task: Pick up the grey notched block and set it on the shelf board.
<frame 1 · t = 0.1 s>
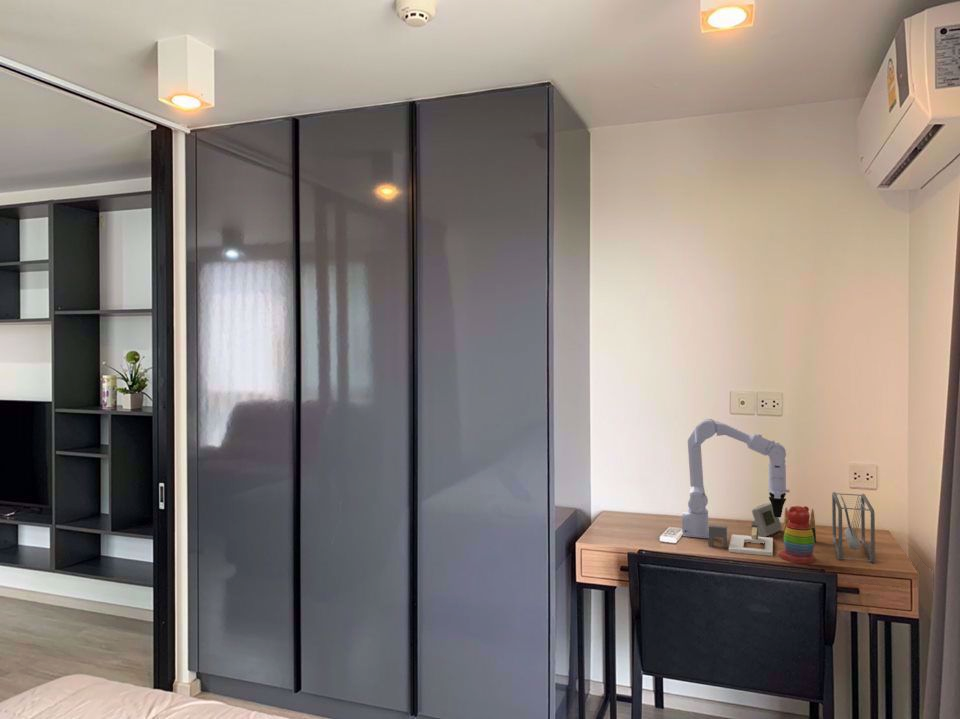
hand: (777, 514, 251), 10 cm above the table, tool pointing down, fingers open, 7 cm apart
stacking bear: (798, 560, 231), on the table
ammunition clip: (799, 541, 253), on the table
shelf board: (751, 546, 247), on the table
digital clock: (767, 534, 264), on the table
grey notched block: (717, 546, 247), on the table
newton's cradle: (852, 551, 240), on the table
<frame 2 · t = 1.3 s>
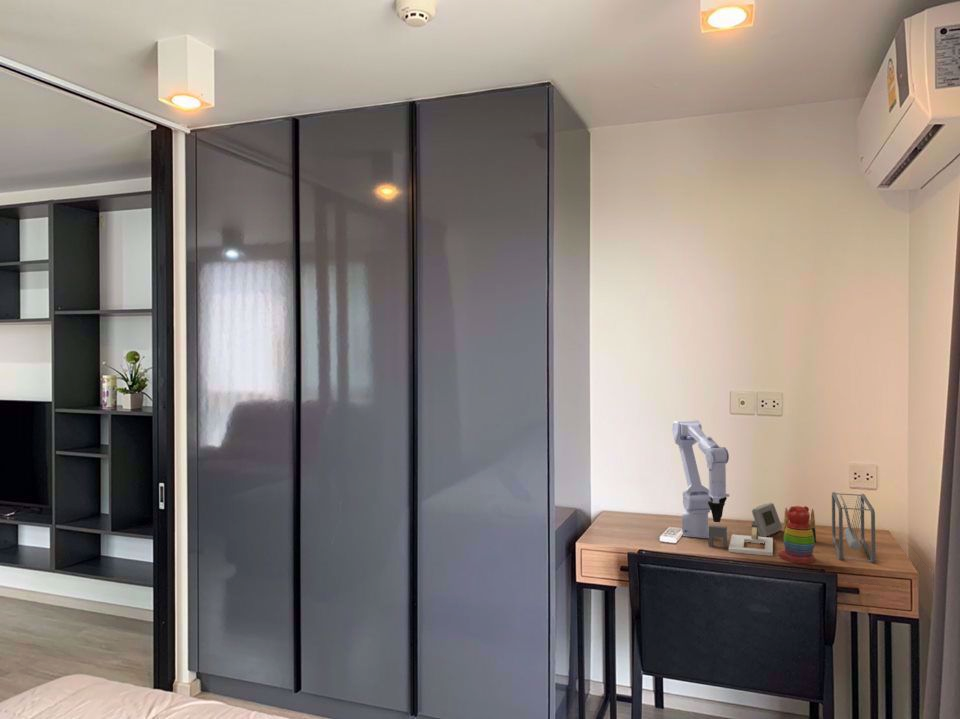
hand: (717, 519, 247), 10 cm above the table, tool pointing down, fingers open, 7 cm apart
nothing on the table moved.
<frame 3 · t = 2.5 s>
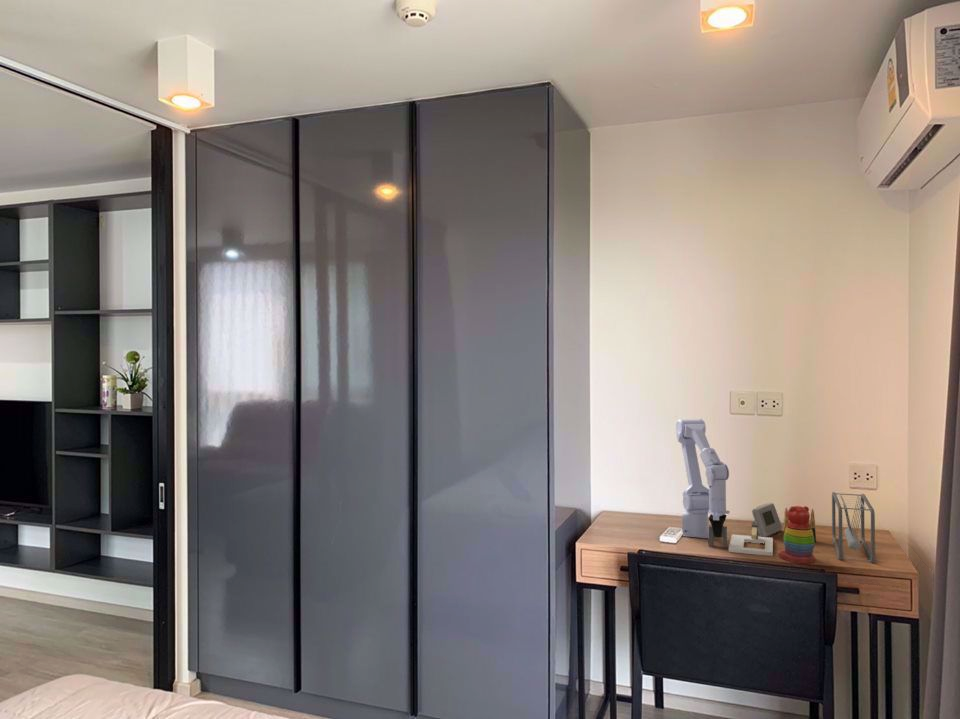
hand: (717, 536, 247), 4 cm above the table, tool pointing down, fingers closed on grey notched block, 2 cm apart
grey notched block: (717, 546, 247), on the table, touching gripper
everything else where it was.
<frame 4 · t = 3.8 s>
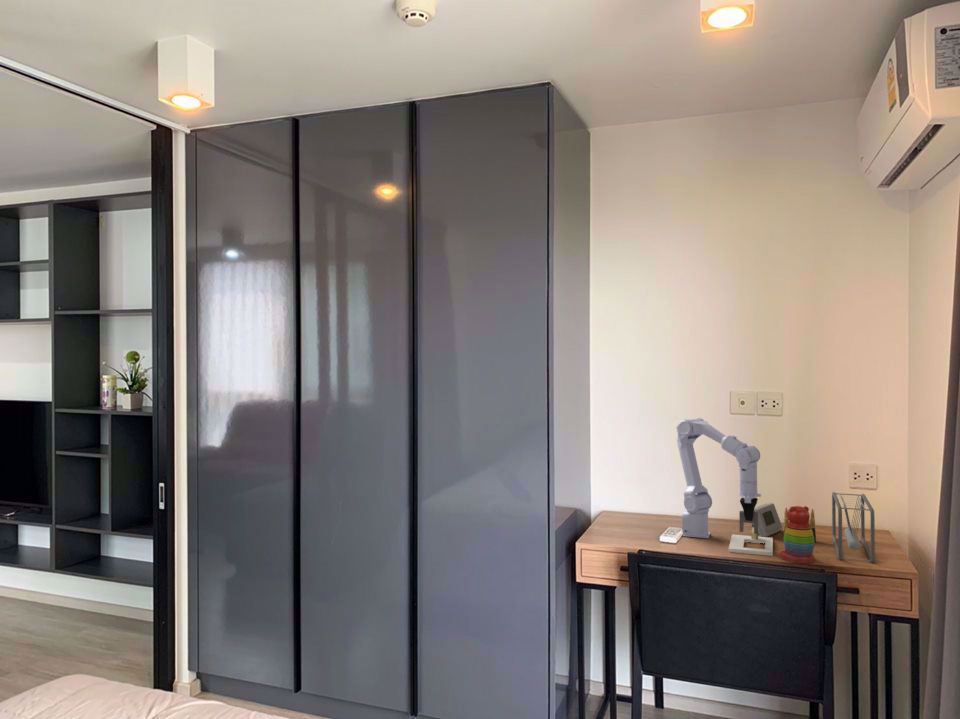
hand: (749, 519, 245), 10 cm above the table, tool pointing down, fingers closed on grey notched block, 2 cm apart
grey notched block: (748, 531, 245), point 6 cm above the table, touching gripper
everything else where it was.
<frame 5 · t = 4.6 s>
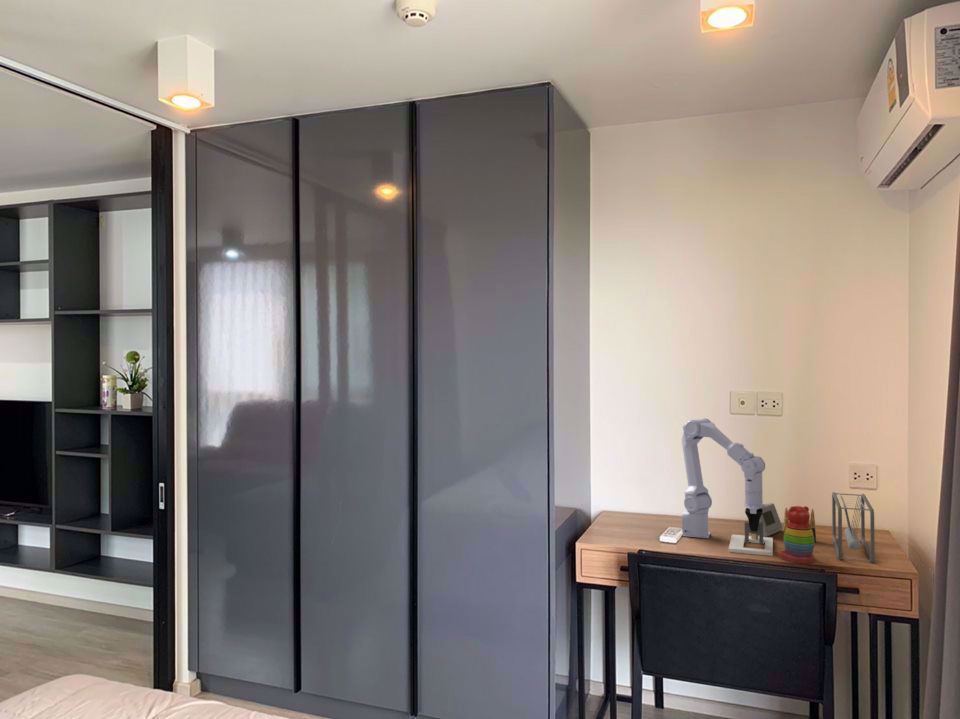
hand: (754, 530, 244), 6 cm above the table, tool pointing down, fingers closed on grey notched block, 2 cm apart
grey notched block: (754, 542, 244), point 2 cm above the table, touching gripper, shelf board
everything else where it was.
when the fingers open (6 cm above the table, at t = 4.9 s): grey notched block stays where it is, resting on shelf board.
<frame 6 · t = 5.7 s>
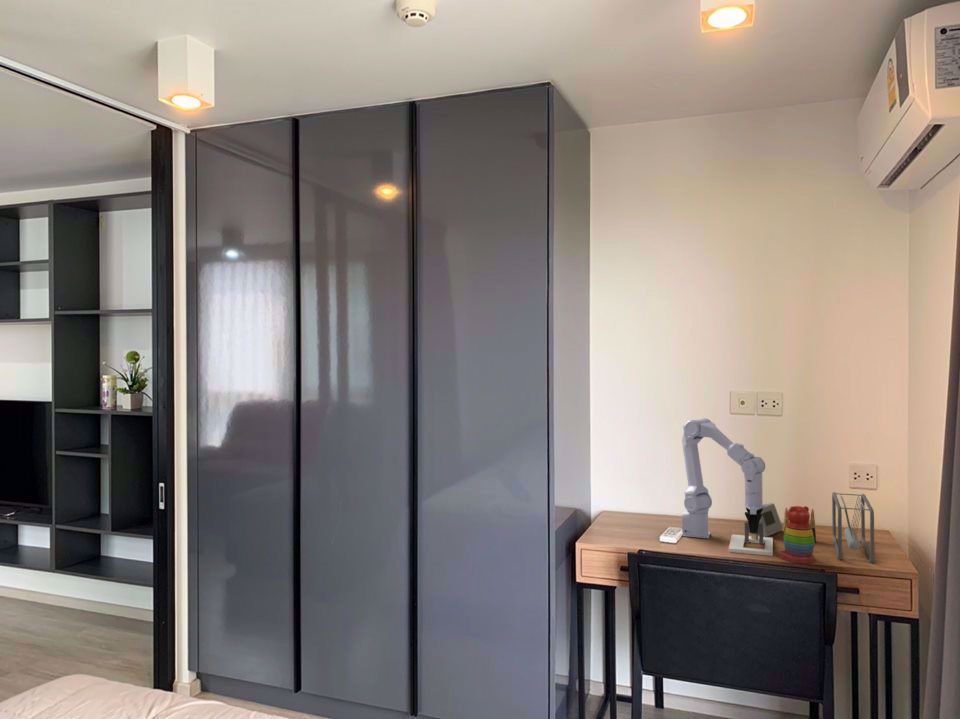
hand: (754, 530, 244), 6 cm above the table, tool pointing down, fingers open, 7 cm apart
grey notched block: (754, 542, 244), point 2 cm above the table, touching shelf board
everything else where it was.
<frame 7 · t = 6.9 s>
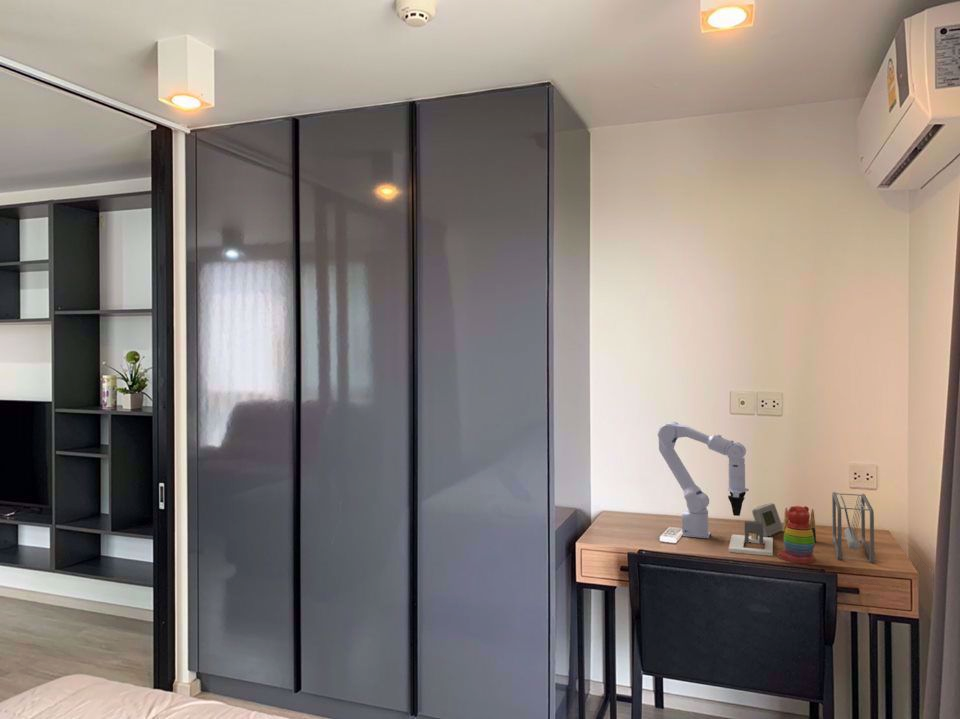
hand: (737, 513, 255), 10 cm above the table, tool pointing down, fingers open, 7 cm apart
nothing on the table moved.
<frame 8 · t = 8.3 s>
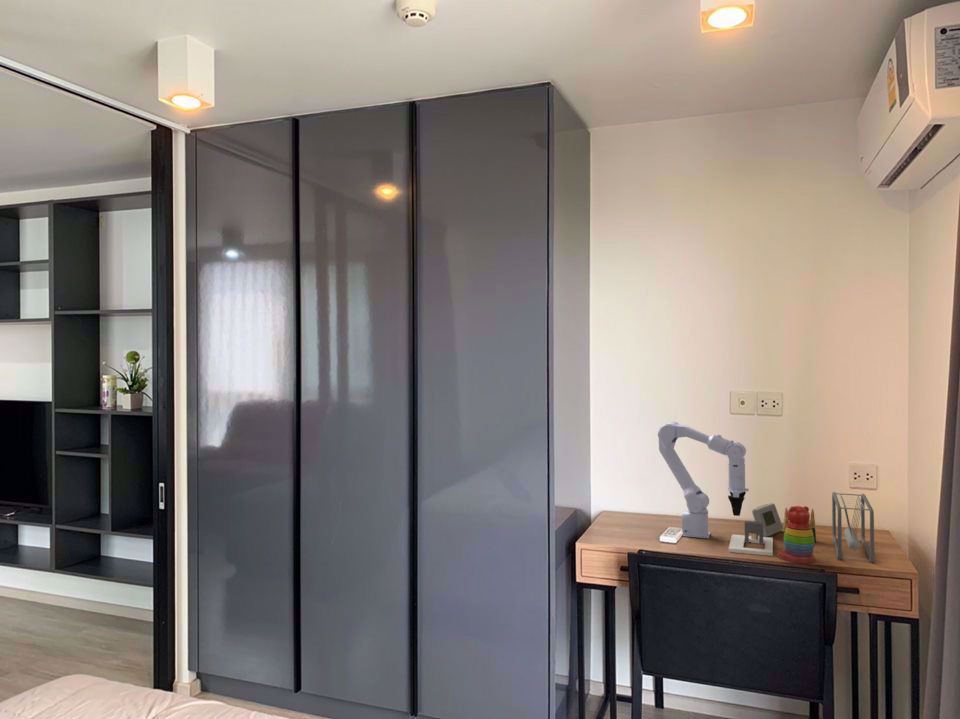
hand: (737, 513, 255), 10 cm above the table, tool pointing down, fingers open, 7 cm apart
nothing on the table moved.
at the end: grey notched block 0.0 cm from the target spot on the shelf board, point 2.0 cm above the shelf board's base; grey notched block touching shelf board; the gripper is holding nothing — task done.
